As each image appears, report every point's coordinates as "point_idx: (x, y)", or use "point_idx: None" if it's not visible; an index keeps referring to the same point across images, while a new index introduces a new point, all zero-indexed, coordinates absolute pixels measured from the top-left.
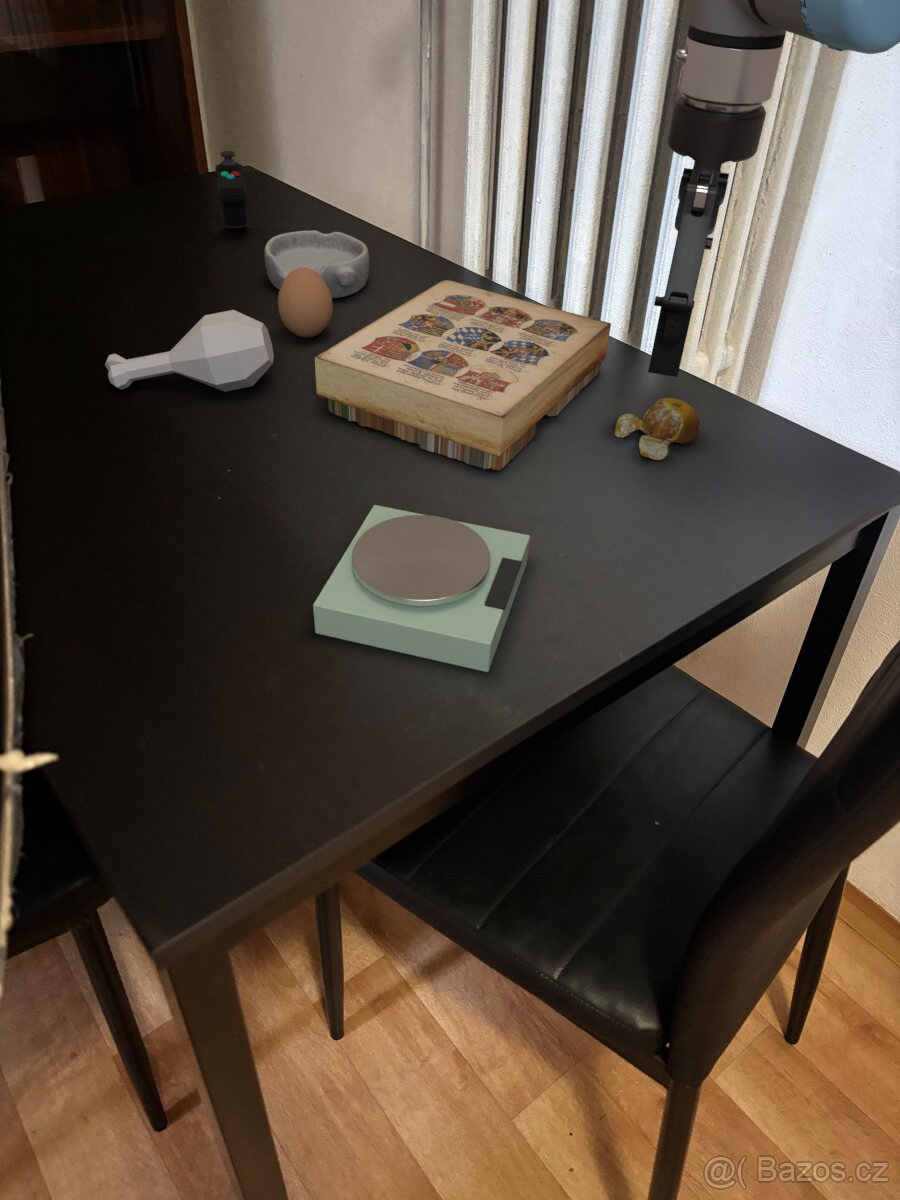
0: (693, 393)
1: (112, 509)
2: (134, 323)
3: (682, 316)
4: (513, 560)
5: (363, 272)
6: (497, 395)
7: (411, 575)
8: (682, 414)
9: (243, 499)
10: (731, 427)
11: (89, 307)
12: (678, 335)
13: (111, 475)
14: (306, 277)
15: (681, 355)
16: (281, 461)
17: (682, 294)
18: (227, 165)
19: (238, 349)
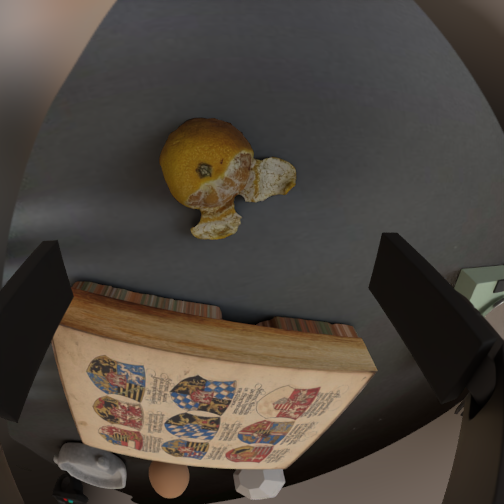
0: (64, 146)
1: (387, 434)
2: (205, 487)
3: (501, 341)
4: (497, 286)
5: (83, 454)
6: (328, 388)
7: (502, 330)
8: (231, 156)
9: (382, 413)
10: (145, 71)
11: (199, 495)
12: (475, 308)
13: (359, 447)
14: (174, 494)
15: (423, 259)
16: (343, 420)
17: (42, 299)
18: (64, 502)
19: (278, 482)
